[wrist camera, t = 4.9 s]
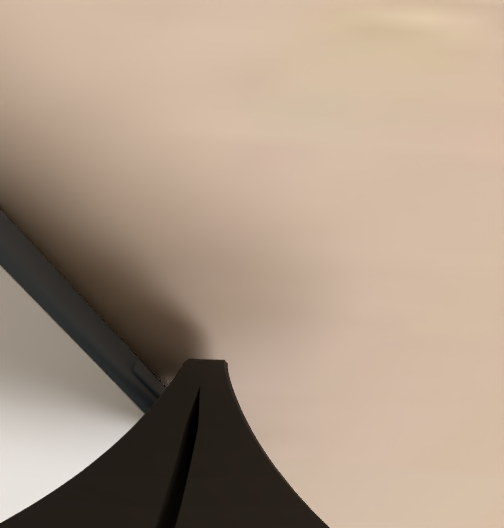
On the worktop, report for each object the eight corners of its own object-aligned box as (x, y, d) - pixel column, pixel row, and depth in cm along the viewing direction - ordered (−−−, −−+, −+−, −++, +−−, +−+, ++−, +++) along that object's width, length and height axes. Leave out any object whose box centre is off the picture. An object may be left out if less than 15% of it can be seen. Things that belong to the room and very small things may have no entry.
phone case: (-307, 279, 11) (82, 580, 15) (-397, 301, 9) (65, 629, 14) (-93, 87, 9) (263, 478, 14) (-156, 77, 8) (266, 520, 12)
